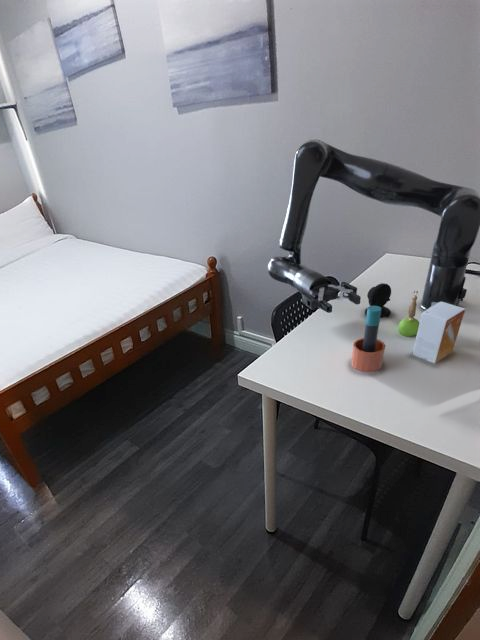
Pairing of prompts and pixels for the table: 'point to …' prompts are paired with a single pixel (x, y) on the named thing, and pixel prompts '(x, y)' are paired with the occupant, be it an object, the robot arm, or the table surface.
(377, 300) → the webcam
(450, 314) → the small box
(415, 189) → the robot arm
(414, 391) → the table surface
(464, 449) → the table surface
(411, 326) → the snail figurine
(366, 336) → the marker pen
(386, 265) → the table surface
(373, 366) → the pen cup
